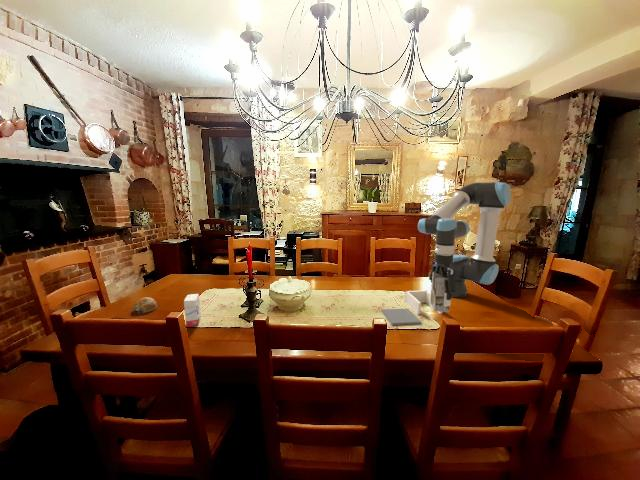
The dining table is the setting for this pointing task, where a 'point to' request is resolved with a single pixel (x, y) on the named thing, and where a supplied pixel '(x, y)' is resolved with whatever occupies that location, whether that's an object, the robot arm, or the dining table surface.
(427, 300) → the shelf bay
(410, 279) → the dining table surface
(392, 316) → the slate pad
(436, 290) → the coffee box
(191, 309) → the ink box
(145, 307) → the grey brown rock
